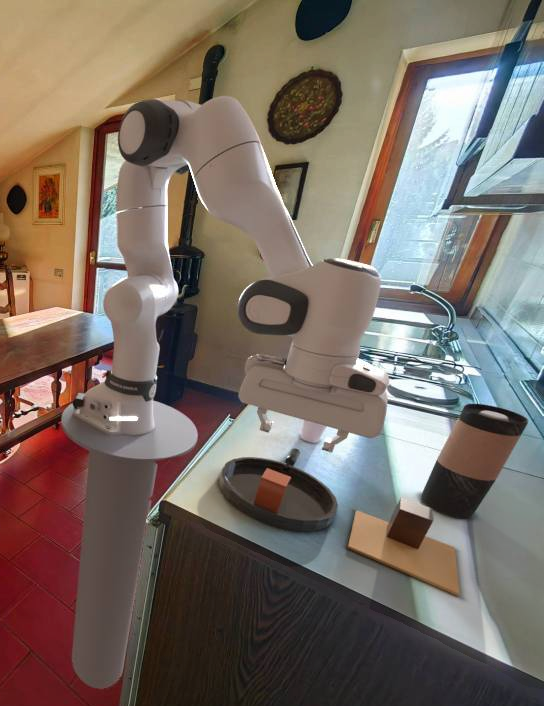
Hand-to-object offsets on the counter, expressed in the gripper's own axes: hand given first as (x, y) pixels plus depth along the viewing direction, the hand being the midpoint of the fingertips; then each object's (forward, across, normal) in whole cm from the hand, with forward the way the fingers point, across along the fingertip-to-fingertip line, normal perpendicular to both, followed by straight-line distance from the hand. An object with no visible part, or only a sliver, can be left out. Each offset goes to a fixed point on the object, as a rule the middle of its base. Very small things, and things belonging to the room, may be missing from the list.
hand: (294, 439), depth 68 cm
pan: (+15, -1, +4) cm, 15 cm away
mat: (+15, +18, +3) cm, 23 cm away
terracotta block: (+14, -1, 0) cm, 14 cm away
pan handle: (+15, -1, +17) cm, 23 cm away
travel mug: (+15, +24, +23) cm, 37 cm away
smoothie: (+15, 0, +35) cm, 38 cm away
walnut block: (+14, +18, +6) cm, 24 cm away
